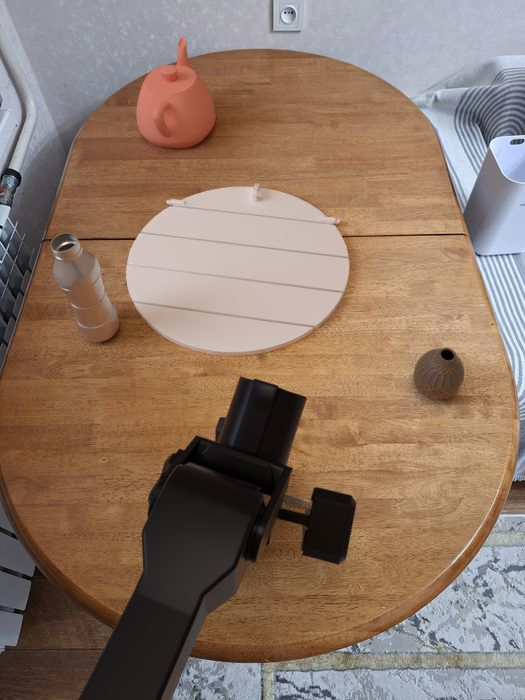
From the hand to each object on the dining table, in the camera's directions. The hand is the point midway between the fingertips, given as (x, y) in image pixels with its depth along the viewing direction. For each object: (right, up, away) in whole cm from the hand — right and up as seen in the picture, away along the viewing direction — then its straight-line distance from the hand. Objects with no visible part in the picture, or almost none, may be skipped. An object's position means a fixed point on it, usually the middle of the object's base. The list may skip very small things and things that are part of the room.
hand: (266, 502), depth 60 cm
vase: (+25, +11, +23) cm, 36 cm away
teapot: (-19, +66, +61) cm, 92 cm away
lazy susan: (-5, +32, +38) cm, 50 cm away
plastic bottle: (-27, +20, +30) cm, 45 cm away
